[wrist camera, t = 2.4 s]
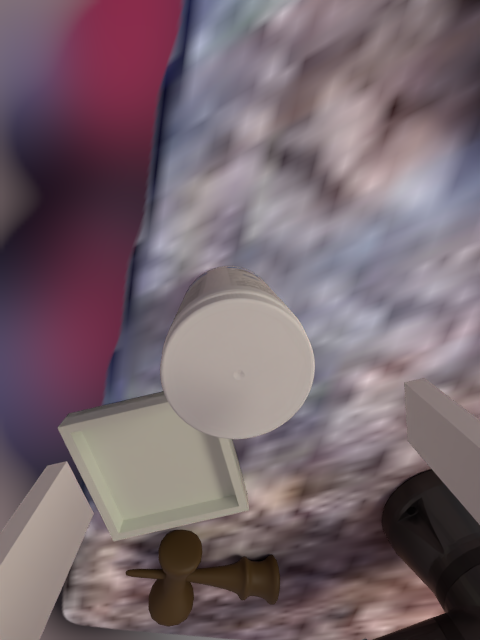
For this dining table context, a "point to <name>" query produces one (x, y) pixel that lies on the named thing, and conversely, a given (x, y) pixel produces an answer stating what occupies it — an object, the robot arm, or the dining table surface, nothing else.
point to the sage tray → (152, 467)
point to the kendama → (201, 578)
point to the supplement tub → (235, 357)
